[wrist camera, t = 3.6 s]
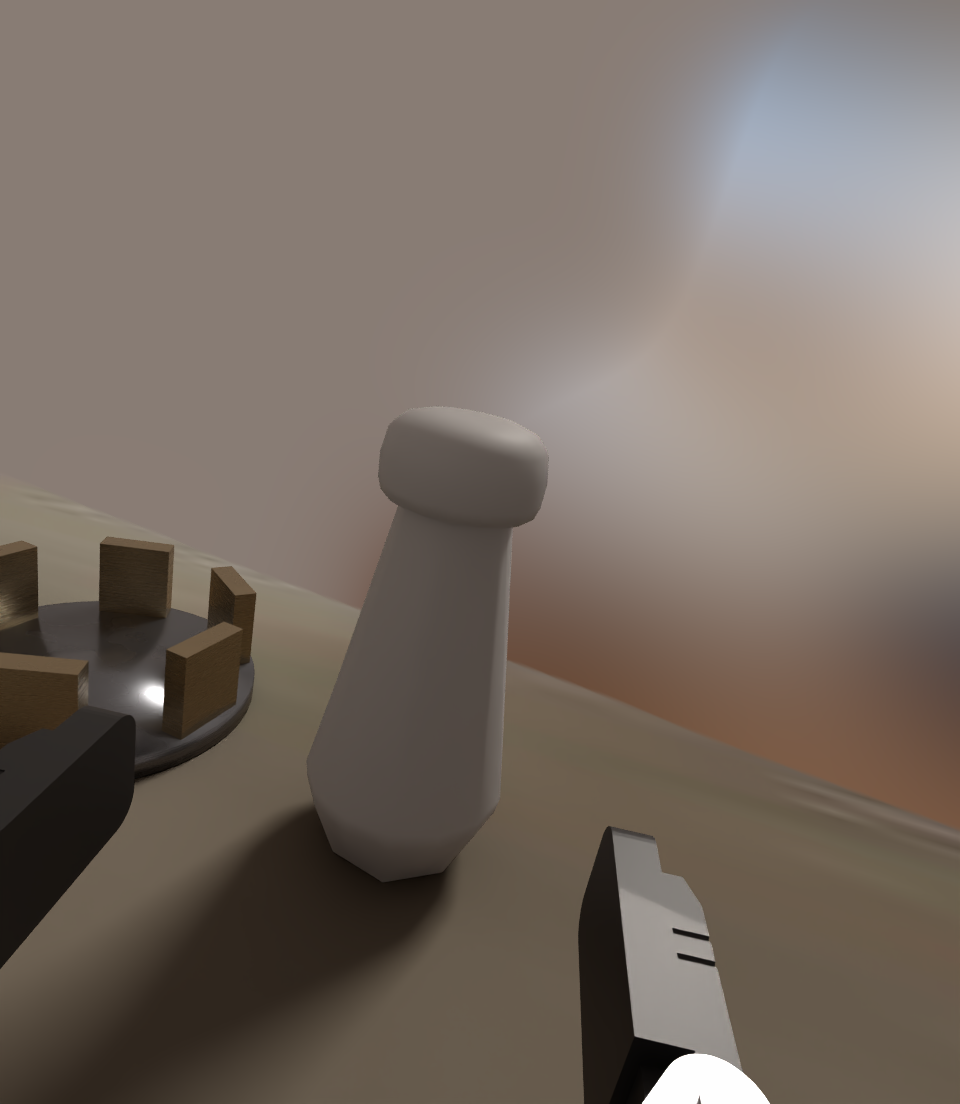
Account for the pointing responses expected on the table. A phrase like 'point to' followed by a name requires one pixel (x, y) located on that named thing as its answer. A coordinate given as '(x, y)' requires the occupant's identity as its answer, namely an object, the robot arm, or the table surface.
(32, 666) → the disc with wooden blocks
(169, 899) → the table surface
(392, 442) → the salt shaker
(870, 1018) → the table surface
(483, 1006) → the table surface
